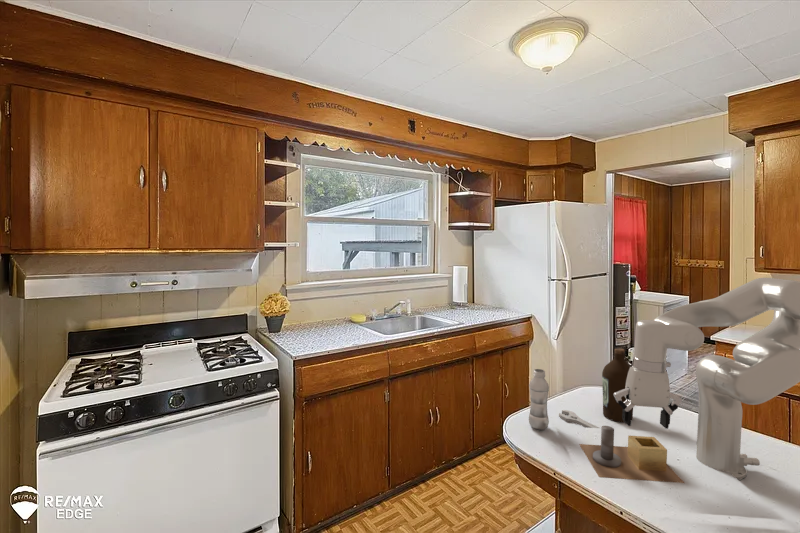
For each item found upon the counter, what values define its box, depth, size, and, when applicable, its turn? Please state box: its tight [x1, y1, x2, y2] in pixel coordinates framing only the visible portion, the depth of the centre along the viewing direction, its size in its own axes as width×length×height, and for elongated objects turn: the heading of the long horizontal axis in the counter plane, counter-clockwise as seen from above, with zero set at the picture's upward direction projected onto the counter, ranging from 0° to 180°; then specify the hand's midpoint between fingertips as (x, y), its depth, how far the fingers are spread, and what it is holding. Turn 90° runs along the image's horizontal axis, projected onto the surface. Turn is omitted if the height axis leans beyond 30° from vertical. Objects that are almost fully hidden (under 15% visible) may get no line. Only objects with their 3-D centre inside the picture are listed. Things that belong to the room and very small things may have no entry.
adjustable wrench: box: [558, 409, 600, 429], centre depth 134 cm, size 25×6×2 cm, turn 23°
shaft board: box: [578, 425, 685, 484], centre depth 112 cm, size 21×17×11 cm
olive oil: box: [601, 347, 634, 424], centre depth 142 cm, size 11×11×25 cm
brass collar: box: [627, 435, 668, 471], centre depth 111 cm, size 7×7×6 cm
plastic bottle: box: [528, 368, 550, 431], centre depth 135 cm, size 6×7×20 cm
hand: (645, 424), depth 111 cm, fingers open, 9 cm apart
